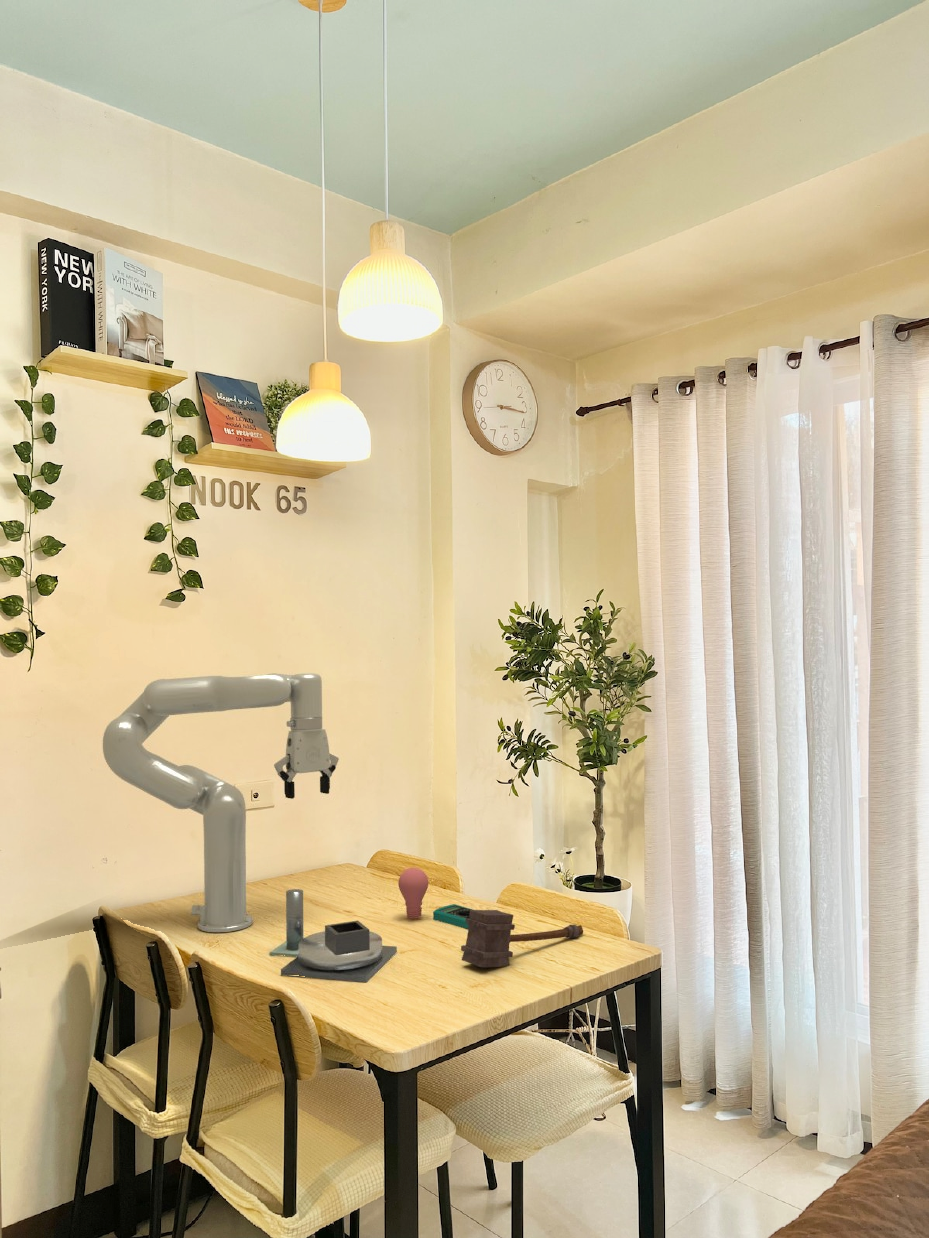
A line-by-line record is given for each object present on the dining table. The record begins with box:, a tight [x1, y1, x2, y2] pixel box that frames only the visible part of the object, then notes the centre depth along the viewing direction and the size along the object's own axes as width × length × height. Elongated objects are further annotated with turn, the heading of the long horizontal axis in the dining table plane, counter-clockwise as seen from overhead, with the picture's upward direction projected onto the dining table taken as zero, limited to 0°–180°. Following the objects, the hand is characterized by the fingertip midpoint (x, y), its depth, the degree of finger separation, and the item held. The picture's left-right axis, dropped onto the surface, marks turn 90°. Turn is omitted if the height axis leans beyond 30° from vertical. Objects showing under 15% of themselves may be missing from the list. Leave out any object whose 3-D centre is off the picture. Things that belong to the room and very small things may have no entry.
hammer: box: [460, 909, 584, 968], centre depth 194 cm, size 7×33×10 cm, turn 131°
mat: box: [269, 940, 299, 957], centre depth 196 cm, size 8×8×1 cm
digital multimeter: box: [432, 903, 474, 930], centre depth 215 cm, size 7×15×3 cm, turn 45°
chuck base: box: [280, 945, 398, 983], centre depth 188 cm, size 18×18×1 cm
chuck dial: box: [299, 920, 383, 970], centre depth 188 cm, size 17×17×7 cm
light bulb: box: [398, 867, 429, 919], centre depth 219 cm, size 7×7×12 cm
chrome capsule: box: [285, 888, 304, 951], centre depth 196 cm, size 4×4×12 cm
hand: (307, 795), depth 221 cm, fingers open, 9 cm apart
